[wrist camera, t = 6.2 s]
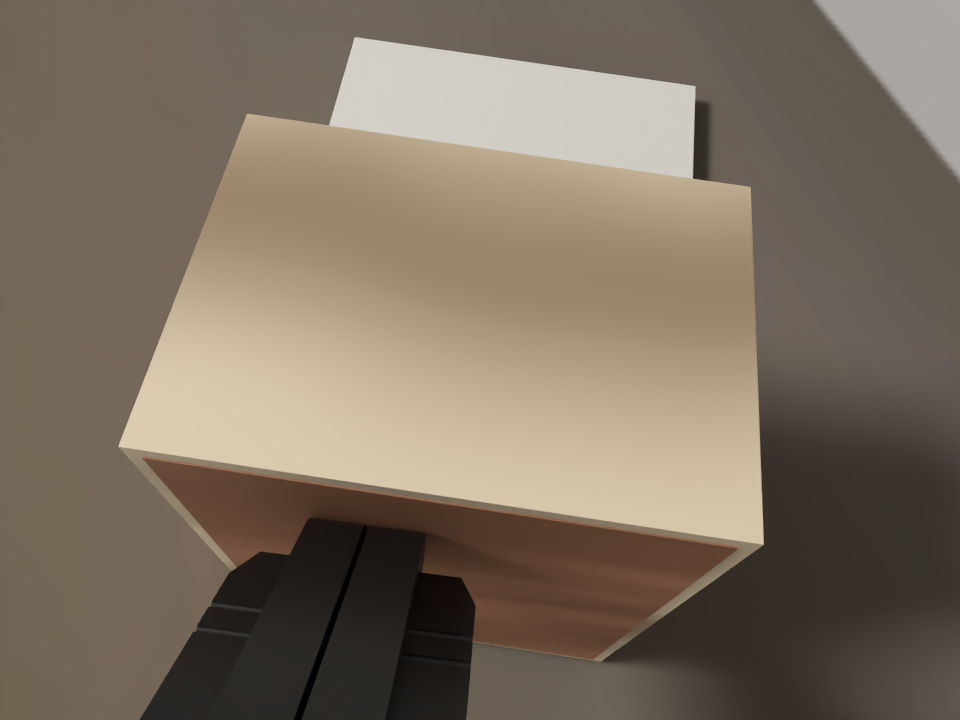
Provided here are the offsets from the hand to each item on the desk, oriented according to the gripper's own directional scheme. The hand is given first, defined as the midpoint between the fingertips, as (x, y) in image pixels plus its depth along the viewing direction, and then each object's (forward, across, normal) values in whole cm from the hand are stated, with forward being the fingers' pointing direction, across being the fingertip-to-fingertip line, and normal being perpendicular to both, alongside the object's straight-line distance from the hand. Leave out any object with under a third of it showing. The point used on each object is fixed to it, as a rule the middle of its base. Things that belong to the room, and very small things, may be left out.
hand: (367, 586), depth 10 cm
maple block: (+7, +1, -3) cm, 7 cm away
